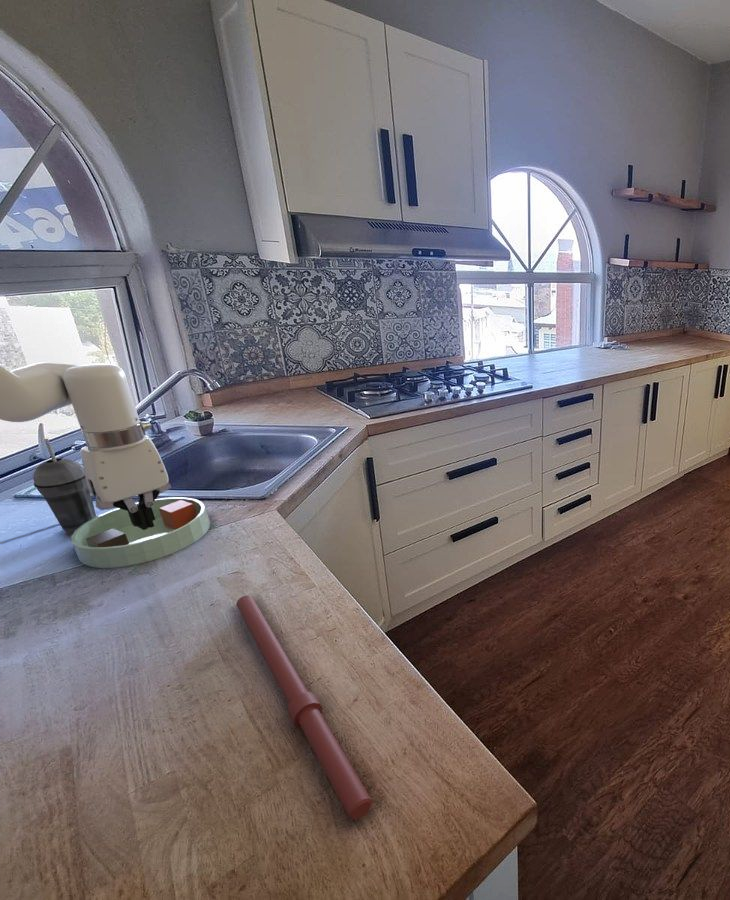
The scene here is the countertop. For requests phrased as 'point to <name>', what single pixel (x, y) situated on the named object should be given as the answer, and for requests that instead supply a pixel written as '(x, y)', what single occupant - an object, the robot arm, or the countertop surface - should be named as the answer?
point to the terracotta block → (177, 514)
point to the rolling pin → (307, 714)
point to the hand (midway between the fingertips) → (145, 526)
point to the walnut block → (108, 539)
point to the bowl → (138, 536)
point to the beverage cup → (65, 491)
